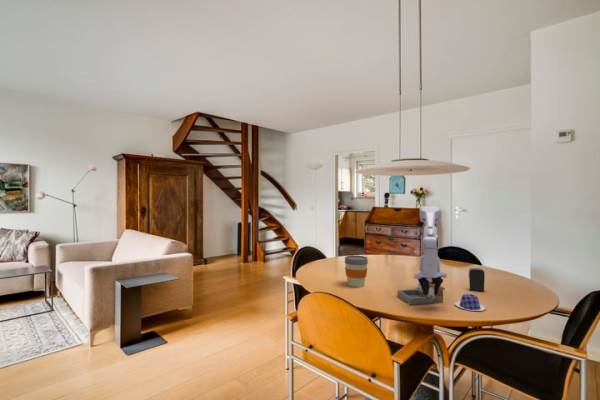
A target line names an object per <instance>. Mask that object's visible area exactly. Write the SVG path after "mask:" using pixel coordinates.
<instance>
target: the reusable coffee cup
mask: <svg viewBox="0 0 600 400" xmlns="http://www.w3.org/2000/svg"><path fill="white" fill-rule="evenodd" d="M368 263H369V261H368V257H367V256H364V255H346V256H345V257H344V264H345V268H344V269H345V276H346V279H347V285H348V286H350V287H351V288H362V287H364V286H365V283H366V277H367V273H368Z"/></svg>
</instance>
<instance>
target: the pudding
mask: <svg viewBox="0 0 600 400" xmlns="http://www.w3.org/2000/svg"><path fill="white" fill-rule="evenodd" d="M454 305H455V306H456V307H457V308H460V309H463V310H466V311H472V312H481V311H485V310H486V307H485V305H484V304H480V302H479V297H478V296H477V295H475V294H472V293H463V294H462V296H461V299H460V300H458V301H456V302H454Z"/></svg>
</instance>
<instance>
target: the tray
mask: <svg viewBox="0 0 600 400" xmlns="http://www.w3.org/2000/svg"><path fill="white" fill-rule="evenodd" d="M396 293H397V298H398V299H400V300H402V301H403V302H405V303H406V304H408V305H409V306H419V305H433V300H430V299H427V298H426V296H425V295H424V294H423V291H422V290H421V289H419V288H415V289H399V290H397V292H396Z"/></svg>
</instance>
